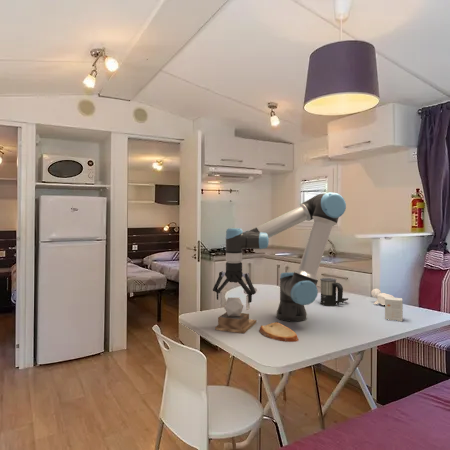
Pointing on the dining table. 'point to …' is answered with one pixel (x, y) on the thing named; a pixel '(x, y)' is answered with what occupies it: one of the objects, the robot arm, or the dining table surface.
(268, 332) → the slice of bread
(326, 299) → the milk frother
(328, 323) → the dining table surface
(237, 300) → the die
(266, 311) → the dining table surface
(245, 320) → the wooden box on base
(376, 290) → the cream doll figurine
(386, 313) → the small box
